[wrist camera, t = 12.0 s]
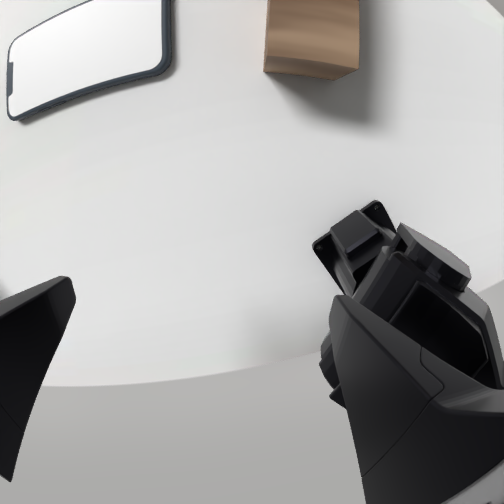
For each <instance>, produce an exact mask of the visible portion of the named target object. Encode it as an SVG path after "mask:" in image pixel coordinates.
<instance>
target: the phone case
mask: <svg viewBox="0 0 504 504" xmlns="http://www.w3.org/2000/svg"><path fill="white" fill-rule="evenodd" d="M171 59H172V52H171V0H88V1H86V2H83V3H81V4H79V5H76V6H74V7H72V8H70V9H67V10H65V11H63V12H61V13H59V14H57V15H55V16H53V17H51V18H49V19H47V20H45V21H44V22H42V23H40V24H38V25H36V26H35V27H33V28H31V29H29V30H28V31H26V32H24V33H23V34H21V35H20V36H18V37H17V38H15V39H14V41H13V42H12V43H11V45H10V47H9V50H8V60H7V88H6V92H7V114H8V117H9V118H10V119H11V120H13V121H17V120H23V119H25V118H27V117H29V116H31V115H34V114H36V113H38V112H42V111H45V110H47V109H50V108H51V107H54V106H57V105H60V104H63V103H65V102H66V101H68V100H71V99H74V98H77V97H80V96H83V95H86V94H89V93H92V92H95V91H98V90H101V89H105V88H108V87H112V86H115V85H119V84H123V83H126V82H130V81H135V80H139V79H143V78H148V77H152V76H156V75H159V74H161V73H163V72H164V71H165V70H166V69H167V68H168V67H169V65H170V63H171Z"/></svg>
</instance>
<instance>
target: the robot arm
mask: <svg viewBox="0 0 504 504" xmlns="http://www.w3.org/2000/svg"><path fill="white" fill-rule="evenodd" d="M376 205H378V208H377V209H376V210H375V206H376ZM318 245H321V248H320V249H317V248H316V247H317V246H318ZM312 248H313V250H314V252H315V254H316V255H317V256H318V258H319V259H320V261H321V262H322V263H323V265H324V266H325V268H326V269H327V271H328V272H329V273H330V275H331V276H332V278H333V279H334V281H335V282H336V283H337V285H338V286H339V288H340V289H341V291H342V292H343V294H344V295H336V296H335V297H334V299H333V303H332V307H331V311H330V315H329V327H330V331H329V333H328V334H327V336H326V337H325V339H324V341H323V343H322V345H321V358H322V360H321V361H320V363H319V366H320V368H321V370H322V373H323V375H324V377H325V379H326V380H327V381H328V383H329V384H330V386H331V387H332V388H333V389H334V390H333V392H332V393H331V394H330V395H329V397H330V398H331V399H332V400H334V401H335V402H336V403H338V404H339V405H341V406H342V407H344V408H345V409H346V410H347V413H348V418H349V422H350V426H351V430H352V435H353V440H354V444H355V449H356V453H357V458H358V463H359V468H360V473H361V477H362V484H363V489H364V495H365V500H366V504H504V361H503V357H502V353H501V348H500V344H499V340H498V336H497V332H496V328H495V324H494V321H493V317H492V314H491V311H490V308H489V306H488V305H487V303H486V302H484V301H483V300H482V299H481V298H480V297H479V296H478V295H477V294H475V293H474V292H473V291H472V290H471V289H470V288H469V287H467V284H468V283H469V281H470V280H471V278H472V277H471V273H470V269H469V266H468V265H467V264H466V263H464V262H463V261H462V260H461V259H459V258H458V257H457V256H455V255H454V254H453V253H452V252H450V251H449V250H448V249H446V248H444V247H443V246H441V245H439V244H438V243H436V242H434V241H433V240H431V239H429V238H428V237H426V236H424V235H422V234H421V233H419V232H417V231H415V230H414V229H412V228H410V227H408V226H406V225H405V224H403V223H400V225H399V226H398V228H397V232H396V230H395V228H394V226H393V224H392V222H391V220H390V218H389V216H388V214H387V212H386V210H385V208H384V206H383V204H382V203H381V202H379V201H378V200H374V201H372V202H371V203H369V204H368V205H367V206H365V207H364V208H362V209H361V210H356V211H354V212H353V213H351V214H350V215H348V216H347V217H345V218H344V219H343V220H341V221H340V222H338V223H337V224H335V225H334V226H332V227H331V229H330V231H329V232H328V233H326V234H325V235H323V236H322V237H320V238H319V239H318V240H316V241H315V242H314V243H313V245H312ZM75 303H76V296H75V292H74V288H73V285H72V281H71V279H70V278H69V277H66V276H58V277H56V278H53V279H51V280H49V281H46V282H44V283H41V284H39V285H36V286H34V287H32V288H29V289H27V290H25V291H22V292H20V293H18V294H15V295H13V296H11V297H8V298H6V299H4V300H1V301H0V476H1V477H3V478H5V479H6V480H7V481H9V482H11V481H12V478H13V473H14V469H15V465H16V461H17V457H18V453H19V449H20V446H21V442H22V439H23V436H24V432H25V429H26V426H27V423H28V420H29V417H30V414H31V411H32V408H33V405H34V403H35V400H36V397H37V395H38V392H39V389H40V387H41V384H42V382H43V379H44V377H45V375H46V372H47V370H48V368H49V365H50V363H51V361H52V358H53V356H54V354H55V352H56V350H57V347H58V345H59V343H60V341H61V339H62V337H63V334H64V331H65V329H66V326H67V323H68V321H69V318H70V316H71V313H72V311H73V308H74V306H75Z"/></svg>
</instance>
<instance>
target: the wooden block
mask: <svg viewBox="0 0 504 504" xmlns="http://www.w3.org/2000/svg"><path fill="white" fill-rule="evenodd" d="M358 69H359V0H268V2H267V19H266V35H265V52H264V68H263V72H272V73H283V74H293V75H301V76H309V77H316V78H323V79H329V80H336V79H338V78H340V77H343V76H345V75H347V74H349V73H351V72H353V71H355V70H358Z"/></svg>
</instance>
